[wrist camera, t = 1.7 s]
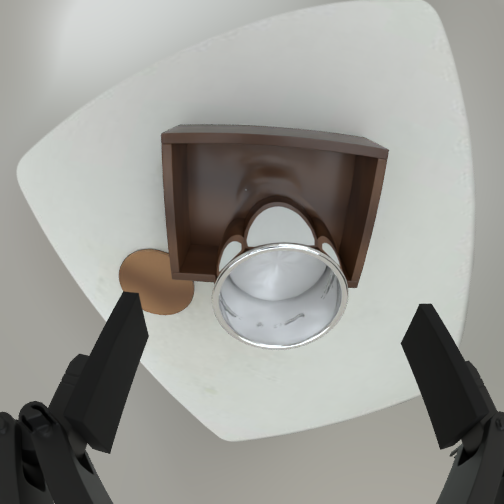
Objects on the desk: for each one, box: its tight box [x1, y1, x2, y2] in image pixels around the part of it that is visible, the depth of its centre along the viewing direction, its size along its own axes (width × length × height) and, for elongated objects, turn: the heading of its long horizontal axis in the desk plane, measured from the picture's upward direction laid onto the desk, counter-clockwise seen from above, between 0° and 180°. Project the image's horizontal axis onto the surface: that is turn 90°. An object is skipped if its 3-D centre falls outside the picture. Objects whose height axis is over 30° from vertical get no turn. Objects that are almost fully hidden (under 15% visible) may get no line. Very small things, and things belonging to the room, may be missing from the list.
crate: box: [161, 124, 389, 288], centre depth 25 cm, size 13×17×5 cm
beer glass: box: [212, 164, 348, 350], centre depth 20 cm, size 7×7×15 cm
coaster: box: [119, 249, 194, 315], centre depth 33 cm, size 9×9×1 cm
